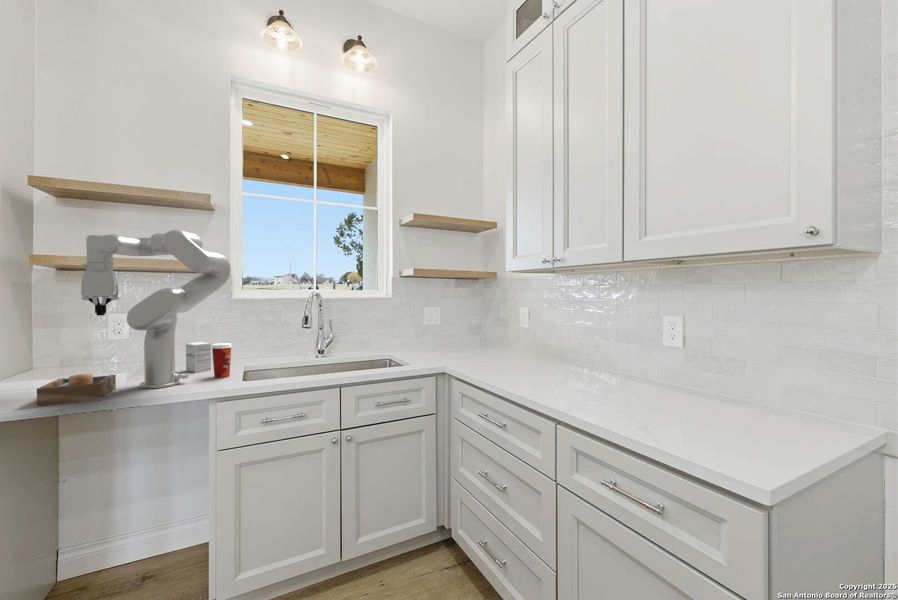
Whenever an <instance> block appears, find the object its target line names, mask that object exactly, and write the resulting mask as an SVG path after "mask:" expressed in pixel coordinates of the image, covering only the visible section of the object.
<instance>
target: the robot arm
mask: <svg viewBox="0 0 898 600" xmlns="http://www.w3.org/2000/svg"><path fill="white" fill-rule="evenodd" d="M85 242H86V243H85V244H86V245H85V246H86V262H85V263H84V264H81V268H83V269H86V270H83V272H82V277H81V278H82V279H81V285H80V286H81V287H80V294H81V300H83V301H88V302H90V303H92V304H93V306H94V314H96V316H105V315H106V314H107V305H108V304H110V303H111V302H112V301H117V300H119V299H120V298H119V286H118V285H119V284H118V279H117V278H118V277H117V274H116V271H114V255H119V256H127V257H154V256H159V257H160V256H173V257H174V258H175V259H177V260H178V261H179V262H180V263H182V265H184V266H185V267H186V268H188V269H189V270H191V271H192V272H194V273H197V274H200V275H197V276H196V277H194V278H192V279H190V280H189V281H188V282H186V283H184V284H183V285H182V286H179V287H178V286H177V287H166V288H162V289H158V290H156V291H154V292H153V293H151V294H150V295H149V296H147V297H145V298H144V299H142V300H141V301H139V302H138V303H137V304H135V305H134V306H133V307H131V309H130V310H129V311H128V312H127V315H126V323H127V325H128V326H129V327H131V329H133V330H136V331H142V332H143V331H144V332H146V333H145V335H144V340H143V343H144V344H143V350H144V351H143V352H144V353H143V354H144V355H143V356H144V357H143V358H144V362H143V363H144V364H143V365H144V372H143V373H144V381H143V382H140V383H139V388H141V389H161V388H166V387H172V386H175V385H178V384H179V383H180V382H181V381H180V379H189V373H183V372H182V373H178V371H177V370H176V367H175V366H176V362H175V359H176V358H175V357H176V355H175V353H176V351H175V347H176V341H175V339H176V336H175V335H176V327H177V322H178V314H179V313H185V312H188V311H190V310H191V309H193V308H195V307H196V306H197V305H198V304H200V303H202V302H203V301H204V300H206V299H207V298H208V297H209V296H211V295H213V294H214V293H216V292H217V291H219V289H222V287H223V286H224V285H225V284H226V283H227V282H228V280H229V278H230V276H231V271H232V270H231V268H232V266H231V263H230V260H229V259H228V258H227V257H226V256H225V255H223V254H221V253H218V252H213V251H207V250H204V249H203V241H202V238H200V236H198V234H195V233H193V232H190V231H185V230H180V229H172V230H169V231H166V232H157V233H153V234H151V236H150V237H134V236H128V235H123V234H122V235H121V234H113V233H112V234H111V233H110V234H106V235H103V234H102V235H100V234H89V235H87V237H86V241H85ZM100 298H101V302H100Z"/></svg>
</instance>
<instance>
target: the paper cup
mask: <svg viewBox="0 0 898 600" xmlns="http://www.w3.org/2000/svg"><path fill="white" fill-rule="evenodd" d="M232 347H233V346H232V342H231V343H229V342H227V343H226V342H222V343H213V344H211V353H212V363H213V374H214V375H213V377H214V378H215V379H224V378H228V377H230V373H231V357H232Z"/></svg>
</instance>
